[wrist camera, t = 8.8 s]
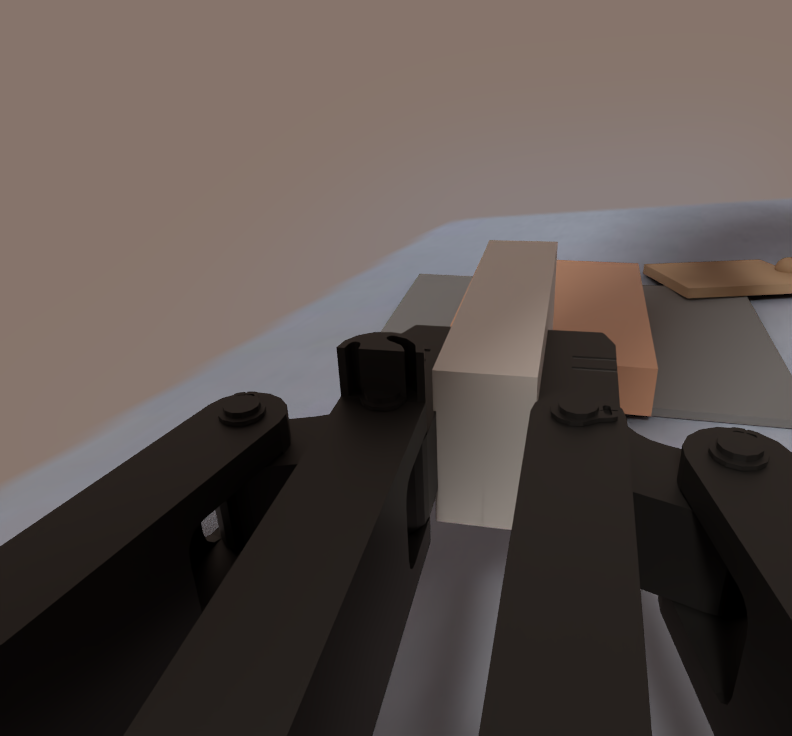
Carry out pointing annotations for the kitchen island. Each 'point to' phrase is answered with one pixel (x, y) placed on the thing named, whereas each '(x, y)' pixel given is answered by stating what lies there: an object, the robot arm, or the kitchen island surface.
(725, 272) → the wooden turner
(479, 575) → the kitchen island surface
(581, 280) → the tile
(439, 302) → the mat
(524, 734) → the robot arm
